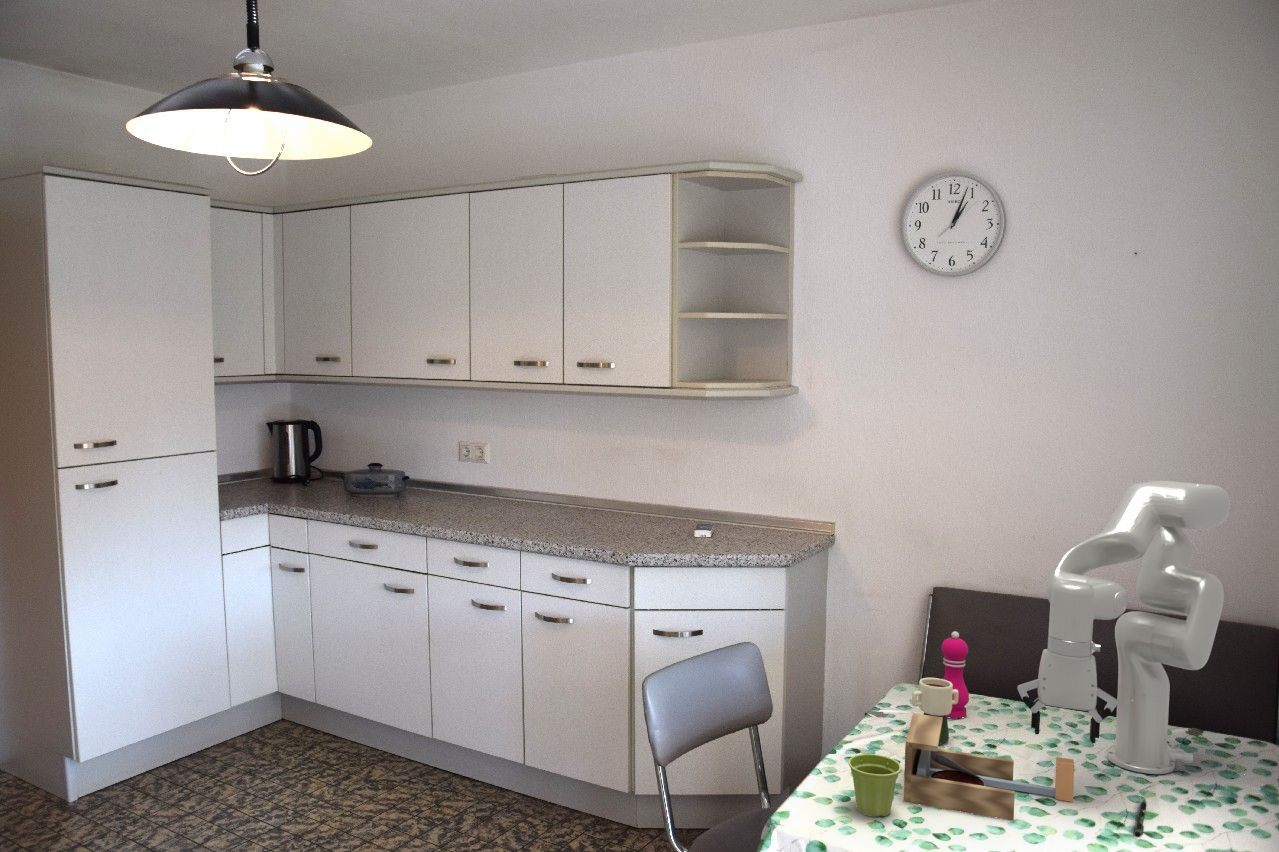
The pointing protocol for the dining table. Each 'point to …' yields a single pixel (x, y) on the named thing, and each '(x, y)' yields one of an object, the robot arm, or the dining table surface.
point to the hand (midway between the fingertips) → (1064, 736)
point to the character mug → (936, 701)
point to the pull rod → (1061, 790)
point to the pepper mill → (956, 672)
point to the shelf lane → (954, 793)
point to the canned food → (955, 772)
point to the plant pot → (874, 783)
